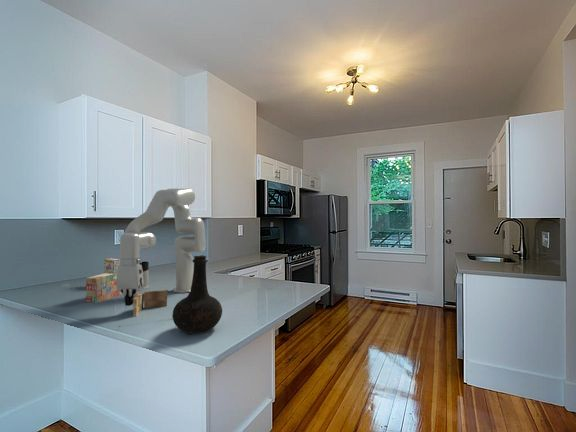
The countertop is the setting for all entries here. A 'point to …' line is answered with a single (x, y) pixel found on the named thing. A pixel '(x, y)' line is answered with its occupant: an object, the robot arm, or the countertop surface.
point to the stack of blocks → (101, 287)
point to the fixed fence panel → (154, 299)
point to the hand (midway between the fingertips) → (129, 304)
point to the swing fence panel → (137, 304)
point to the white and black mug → (145, 274)
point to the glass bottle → (197, 303)
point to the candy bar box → (111, 266)
